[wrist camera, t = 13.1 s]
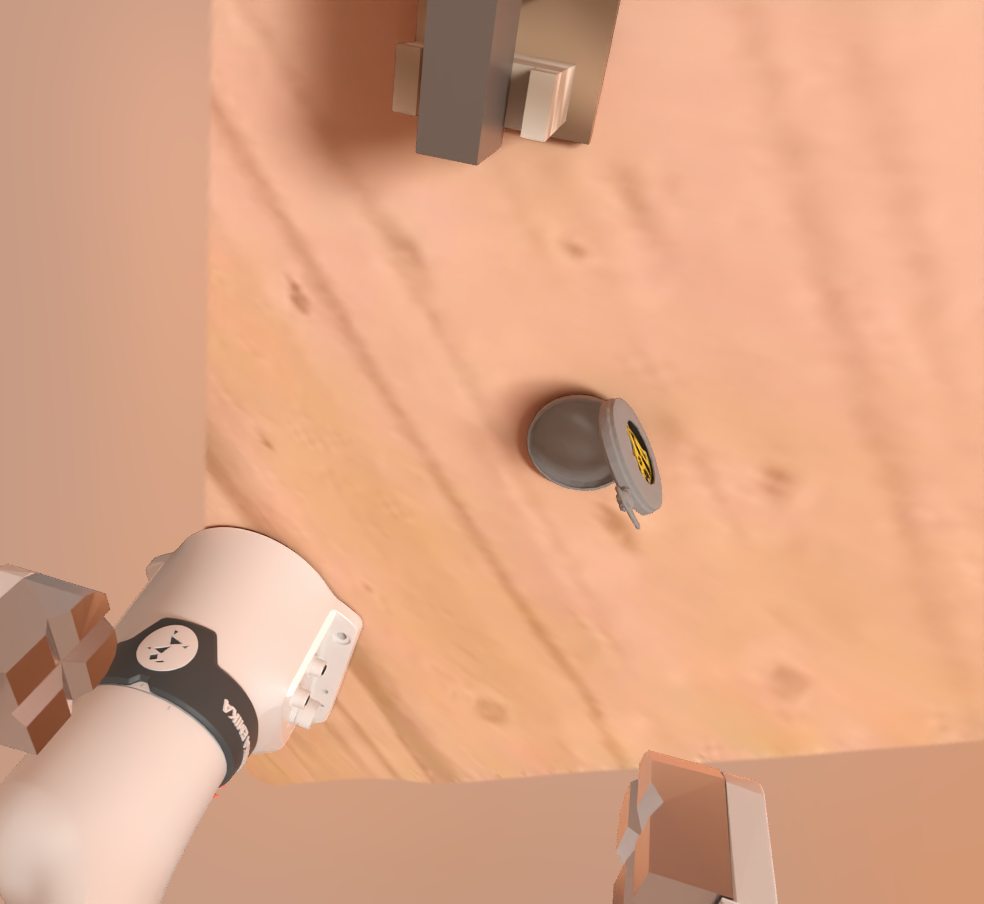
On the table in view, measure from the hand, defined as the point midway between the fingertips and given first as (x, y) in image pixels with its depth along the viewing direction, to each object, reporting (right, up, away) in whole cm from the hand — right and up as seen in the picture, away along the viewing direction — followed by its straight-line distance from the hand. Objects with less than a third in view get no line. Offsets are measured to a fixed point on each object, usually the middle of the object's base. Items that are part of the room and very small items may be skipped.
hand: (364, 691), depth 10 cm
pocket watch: (+9, +5, +33) cm, 34 cm away
